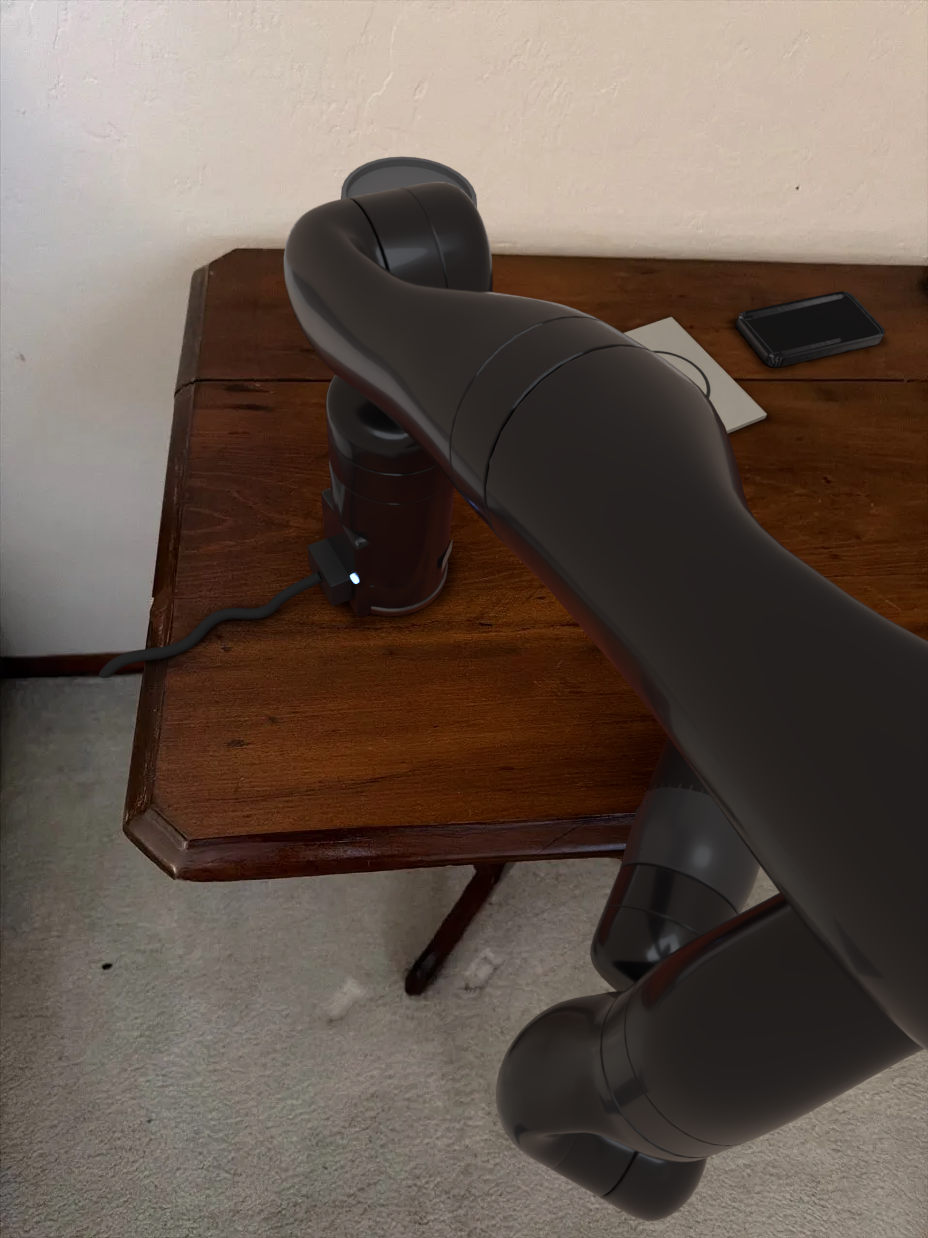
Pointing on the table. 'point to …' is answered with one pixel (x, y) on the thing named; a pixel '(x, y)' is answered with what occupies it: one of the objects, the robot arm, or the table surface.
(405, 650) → the table surface
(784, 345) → the phone
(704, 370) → the sketch pad
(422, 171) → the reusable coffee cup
